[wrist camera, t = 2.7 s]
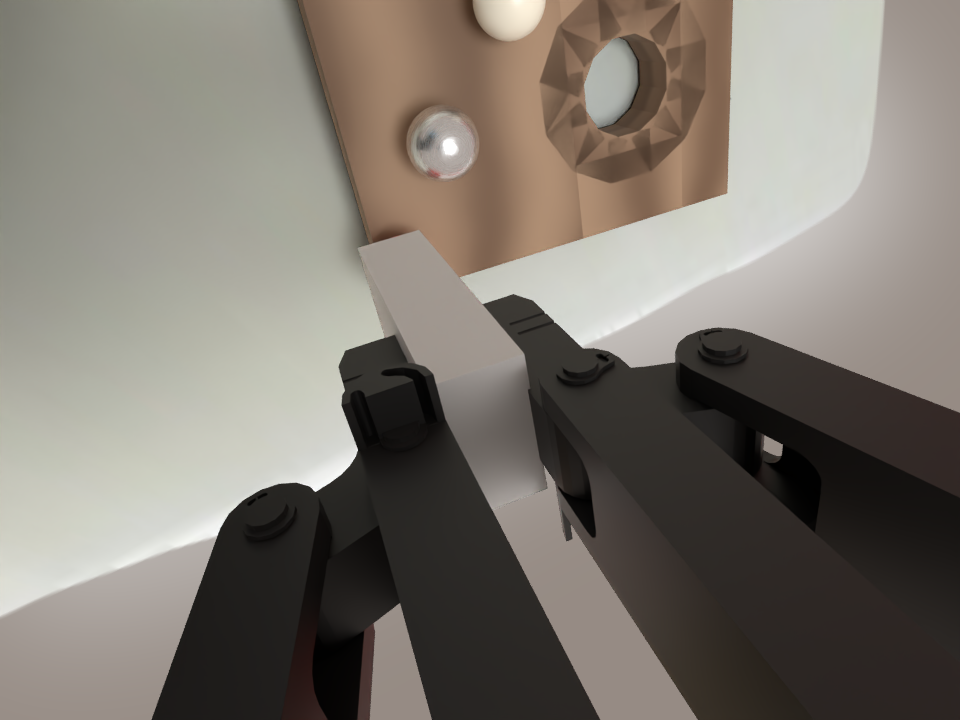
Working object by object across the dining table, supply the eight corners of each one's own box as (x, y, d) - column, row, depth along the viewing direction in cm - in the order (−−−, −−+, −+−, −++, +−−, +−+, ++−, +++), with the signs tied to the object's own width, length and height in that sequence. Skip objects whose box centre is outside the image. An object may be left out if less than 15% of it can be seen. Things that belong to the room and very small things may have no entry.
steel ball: (408, 181, 29) (425, 198, 26) (391, 110, 27) (407, 120, 25) (472, 164, 30) (495, 178, 27) (459, 93, 28) (481, 100, 25)
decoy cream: (470, 47, 27) (493, 49, 25) (456, -33, 26) (480, -39, 23) (533, 32, 28) (561, 33, 25) (523, -47, 26) (553, -54, 24)
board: (380, 281, 33) (389, 299, 31) (292, -16, 26) (296, -20, 24) (700, 183, 37) (727, 193, 35) (701, -102, 30) (735, -111, 28)
